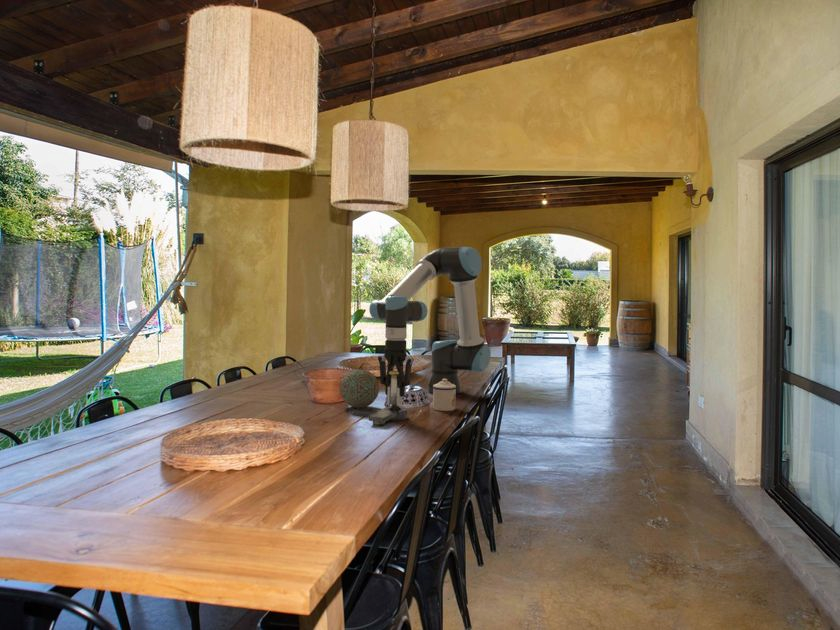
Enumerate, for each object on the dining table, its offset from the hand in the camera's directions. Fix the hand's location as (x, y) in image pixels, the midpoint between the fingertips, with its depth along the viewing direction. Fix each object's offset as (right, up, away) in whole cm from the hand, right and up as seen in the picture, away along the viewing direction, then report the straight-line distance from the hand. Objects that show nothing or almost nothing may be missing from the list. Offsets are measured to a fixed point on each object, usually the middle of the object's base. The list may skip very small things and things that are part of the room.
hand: (394, 404), depth 212 cm
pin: (0, -2, 0) cm, 2 cm away
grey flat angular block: (-7, -5, -2) cm, 9 cm away
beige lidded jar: (+18, -4, +18) cm, 26 cm away
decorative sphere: (-14, -4, +17) cm, 23 cm away
